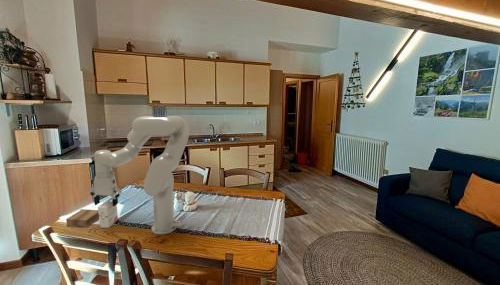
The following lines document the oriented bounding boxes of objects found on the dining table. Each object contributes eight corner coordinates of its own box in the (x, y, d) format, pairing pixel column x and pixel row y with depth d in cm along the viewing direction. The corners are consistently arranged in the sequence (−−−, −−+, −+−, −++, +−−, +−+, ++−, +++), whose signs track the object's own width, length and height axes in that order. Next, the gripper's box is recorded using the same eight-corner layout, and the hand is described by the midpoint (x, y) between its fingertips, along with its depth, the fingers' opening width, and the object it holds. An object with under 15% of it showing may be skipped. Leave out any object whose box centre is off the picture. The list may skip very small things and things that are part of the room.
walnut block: (101, 217, 132) (101, 210, 131) (87, 228, 121) (86, 220, 121) (83, 216, 133) (82, 209, 132) (67, 227, 122) (66, 219, 121)
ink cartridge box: (109, 219, 130) (107, 194, 127) (118, 219, 130) (116, 195, 127) (99, 227, 122) (96, 201, 119) (108, 228, 122) (106, 201, 119)
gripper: (124, 172, 124) (126, 202, 127) (92, 170, 124) (95, 200, 128) (116, 177, 117) (118, 209, 120) (82, 175, 117) (85, 206, 120)
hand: (106, 204), depth 124 cm, fingers open, 9 cm apart
